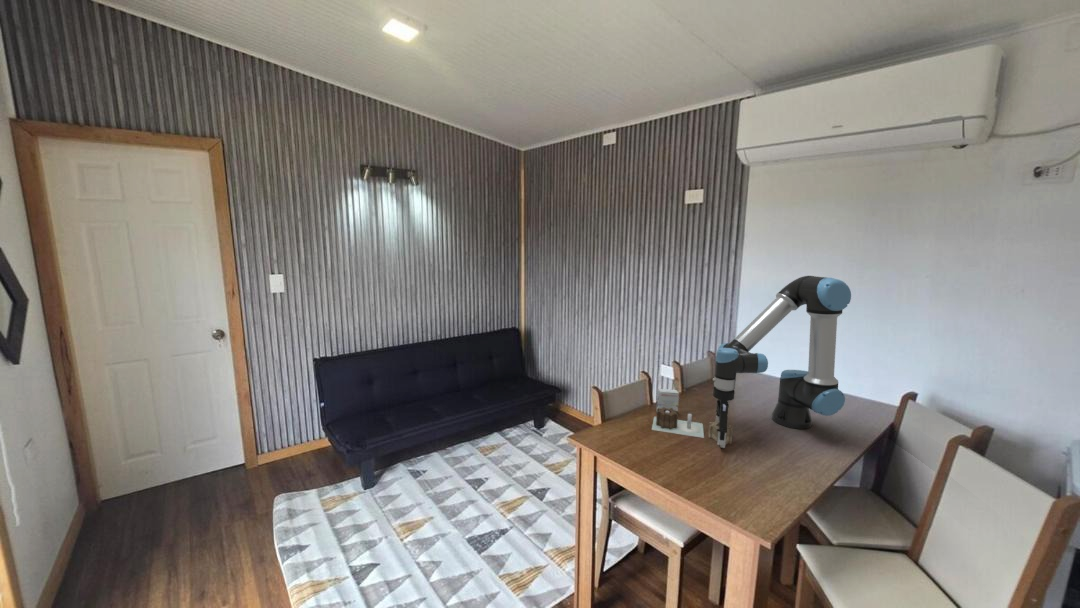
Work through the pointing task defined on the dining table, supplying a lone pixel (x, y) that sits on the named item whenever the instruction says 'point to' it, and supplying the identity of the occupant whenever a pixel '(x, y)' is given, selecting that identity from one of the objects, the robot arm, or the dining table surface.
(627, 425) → the dining table surface
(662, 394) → the ink box
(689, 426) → the gear board
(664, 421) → the gear
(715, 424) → the gear
